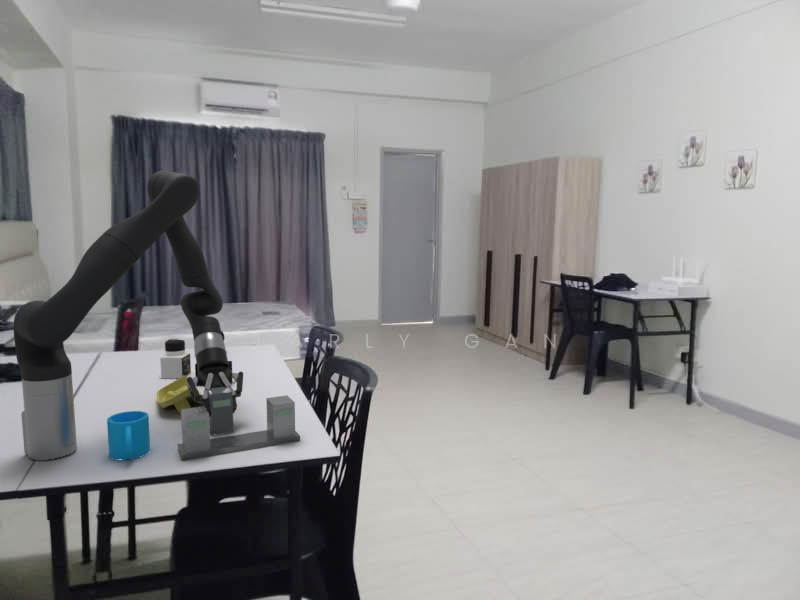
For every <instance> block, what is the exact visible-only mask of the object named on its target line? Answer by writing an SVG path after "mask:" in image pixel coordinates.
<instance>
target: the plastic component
mask: <svg viewBox="0 0 800 600" xmlns="http://www.w3.org/2000/svg"><path fill="white" fill-rule="evenodd" d="M187 378H188V377H187V376H186V377H185V376H184V377H181V378H179V379H176V380H174V381H172V382H171V383H170V382H169V384H167V385H165V386H163V387H162V388H160V389H159V390H157V391H156V400H157V403H158V405H159V406H160V407H161V408H162V409H166V408H168V407H169V406H172V405H173V406H174V407H175V409H176V410H177V412H178V414H179V413H181V409H188V408H192V407H191V404H190V403H189V401H188V400H187V397H188V396H189V397H192V396H191V394H190V392H189V389H188V387H187V385H186V383H187ZM197 390H198V388H197ZM198 392H199V394H200V395H202V394H201V393H202V392H200V390H198ZM198 403H199V404H202V403H201V402H198Z"/></svg>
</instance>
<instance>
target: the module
mask: <svg viewBox="0 0 800 600" xmlns="http://www.w3.org/2000/svg"><path fill="white" fill-rule="evenodd" d="M207 391H208V399H209V404H210V410H211V415H210V416H209V423H210V435H211V436H215V435H214V434H217V435H221V433H223V434H229V432H230V433H234V413H233V401H232V391H231V390H230V388H229V387H225V386H223V387H214V388H210V390H207Z"/></svg>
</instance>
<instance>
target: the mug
mask: <svg viewBox="0 0 800 600" xmlns="http://www.w3.org/2000/svg"><path fill="white" fill-rule="evenodd" d="M149 417H150V416H149V413H148V412H145V411H140V410H129V411H122V412H118V413H114V414H112V415H110V416H109V417H107V418H106V425H107V427H106V428H107V441H108V442H107V444H108V457H109V458H110V457H111V458H113V459H112V460H114V459H122V460H121V461H127V460H126V459H131V460H134V459H133V458H136V459H138V458H137V457H139V458H141V457H140V456H142V457H144V456H146V455H148V454H149V453H150V452H149V451H151V439H150V421H149ZM148 452H149V453H148ZM147 453H148V454H147ZM145 454H146V455H145ZM143 455H144V456H143ZM111 458H110V459H111Z"/></svg>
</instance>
